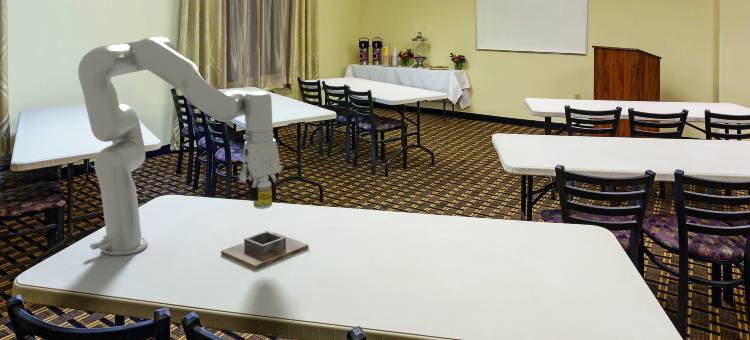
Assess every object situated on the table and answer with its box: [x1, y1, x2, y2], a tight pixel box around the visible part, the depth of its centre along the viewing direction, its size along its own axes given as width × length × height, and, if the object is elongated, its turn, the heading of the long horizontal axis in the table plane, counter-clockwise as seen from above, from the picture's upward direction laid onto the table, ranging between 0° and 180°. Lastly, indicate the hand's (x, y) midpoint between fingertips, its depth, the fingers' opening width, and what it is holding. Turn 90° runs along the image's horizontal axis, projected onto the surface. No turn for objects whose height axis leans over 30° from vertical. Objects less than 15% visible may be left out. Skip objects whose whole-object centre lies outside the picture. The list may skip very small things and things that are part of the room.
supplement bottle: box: [252, 176, 273, 210], centre depth 172 cm, size 5×5×10 cm
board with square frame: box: [220, 230, 310, 270], centre depth 176 cm, size 20×16×4 cm
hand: (262, 196), depth 172 cm, fingers closed on supplement bottle, 5 cm apart
